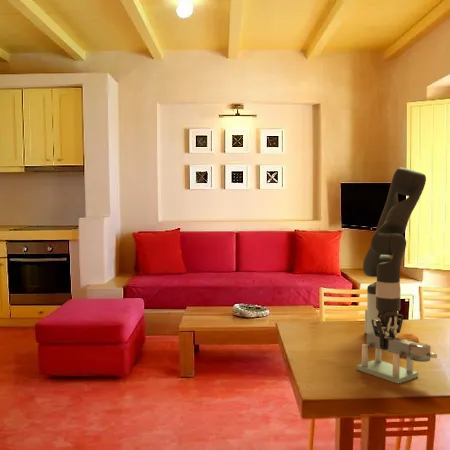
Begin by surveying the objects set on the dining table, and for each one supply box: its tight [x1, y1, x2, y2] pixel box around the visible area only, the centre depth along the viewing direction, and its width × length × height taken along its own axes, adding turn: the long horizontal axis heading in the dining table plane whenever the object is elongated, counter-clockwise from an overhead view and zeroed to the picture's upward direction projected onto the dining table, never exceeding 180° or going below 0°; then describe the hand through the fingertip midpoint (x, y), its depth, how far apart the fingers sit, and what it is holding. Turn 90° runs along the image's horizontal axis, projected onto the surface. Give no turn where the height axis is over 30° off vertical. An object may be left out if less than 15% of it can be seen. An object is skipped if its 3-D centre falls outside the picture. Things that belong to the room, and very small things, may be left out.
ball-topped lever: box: [365, 332, 438, 363], centre depth 158 cm, size 24×6×4 cm, turn 36°
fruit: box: [396, 332, 420, 343], centre depth 184 cm, size 8×8×8 cm
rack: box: [356, 343, 419, 385], centre depth 162 cm, size 16×10×8 cm, turn 35°
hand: (387, 347), depth 162 cm, fingers closed on ball-topped lever, 3 cm apart
